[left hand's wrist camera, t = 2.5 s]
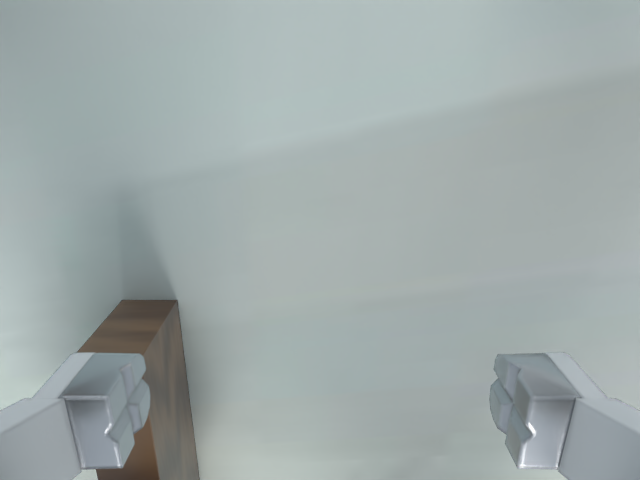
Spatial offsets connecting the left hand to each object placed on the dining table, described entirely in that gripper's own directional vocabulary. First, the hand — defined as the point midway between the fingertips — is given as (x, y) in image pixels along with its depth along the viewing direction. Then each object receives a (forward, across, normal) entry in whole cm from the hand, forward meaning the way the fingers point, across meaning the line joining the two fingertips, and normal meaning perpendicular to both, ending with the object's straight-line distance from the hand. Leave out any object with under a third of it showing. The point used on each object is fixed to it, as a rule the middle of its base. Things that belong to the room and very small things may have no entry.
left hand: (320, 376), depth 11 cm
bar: (+28, -15, -24) cm, 40 cm away
